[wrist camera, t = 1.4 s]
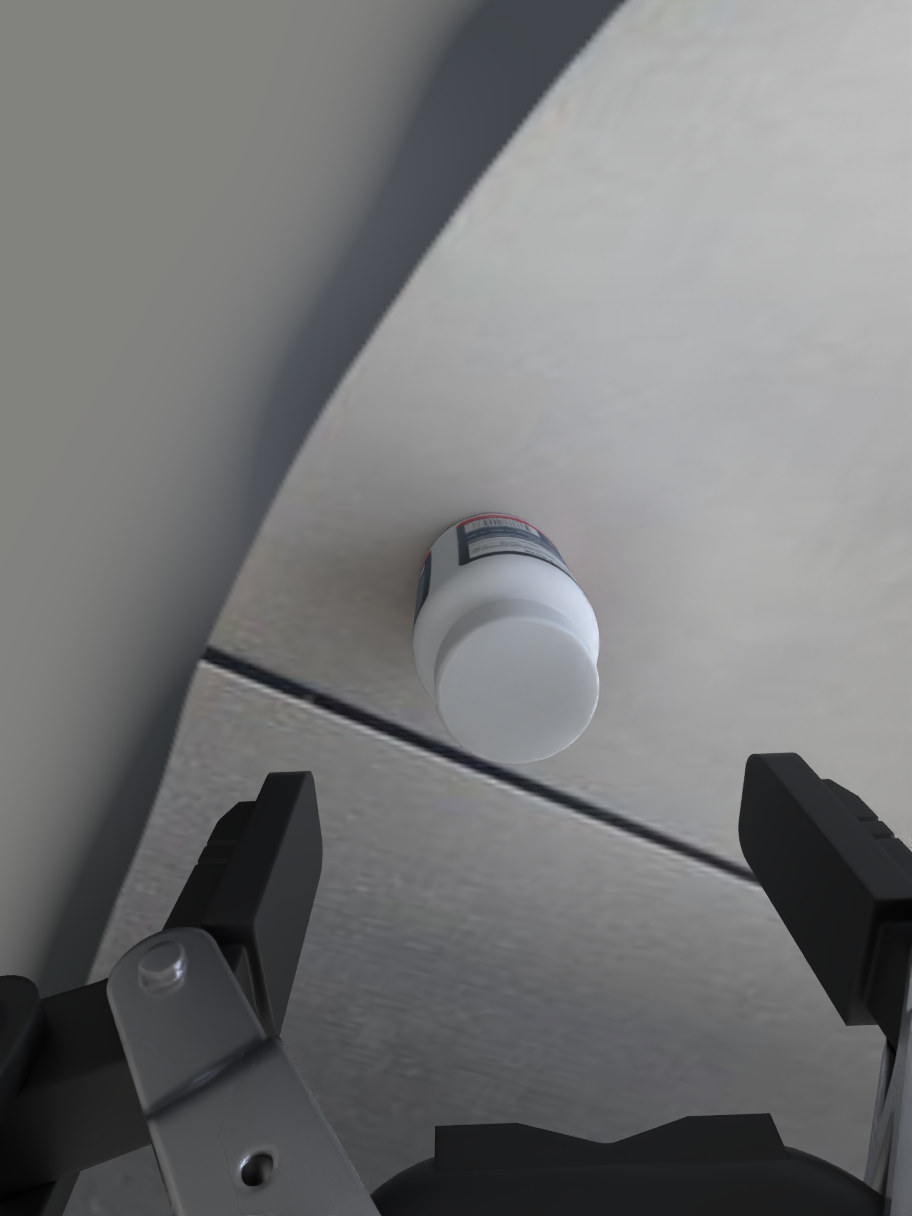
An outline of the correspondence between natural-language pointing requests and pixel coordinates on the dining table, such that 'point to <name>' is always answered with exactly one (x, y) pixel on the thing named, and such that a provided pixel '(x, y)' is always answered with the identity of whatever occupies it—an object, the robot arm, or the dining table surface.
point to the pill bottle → (505, 640)
